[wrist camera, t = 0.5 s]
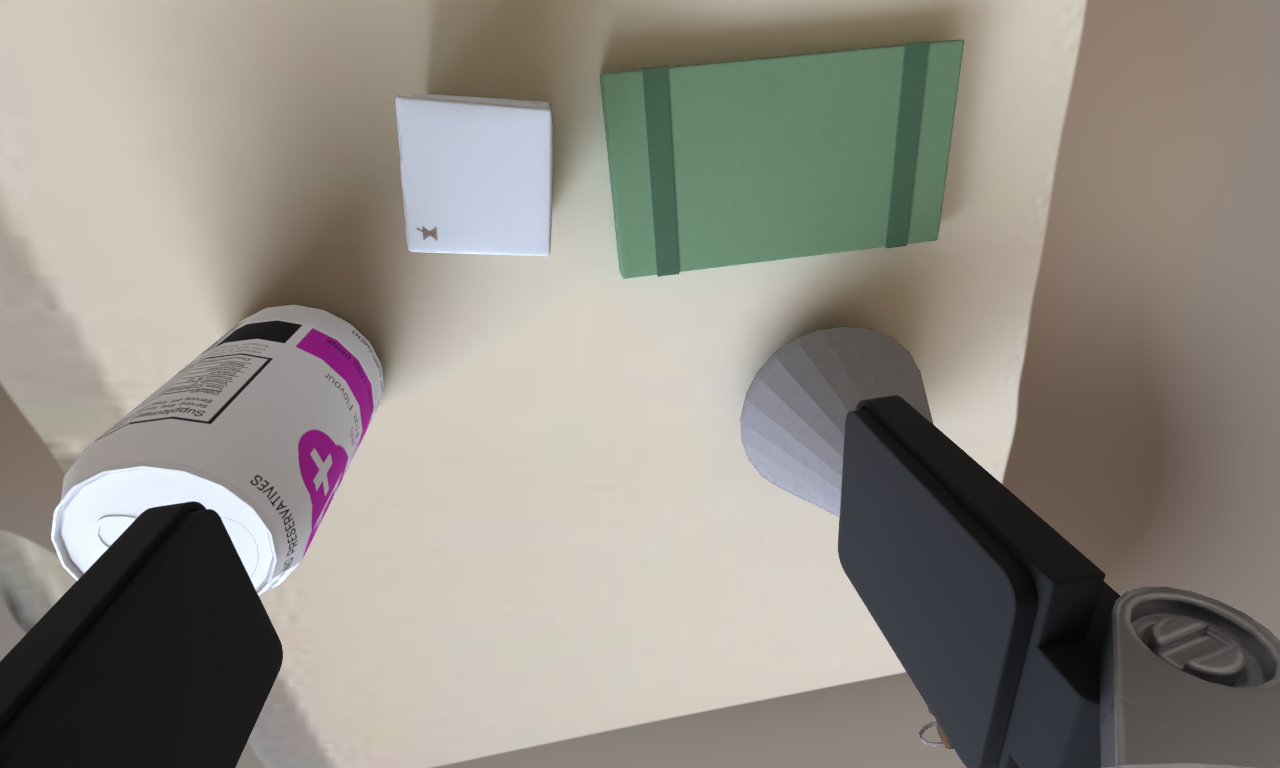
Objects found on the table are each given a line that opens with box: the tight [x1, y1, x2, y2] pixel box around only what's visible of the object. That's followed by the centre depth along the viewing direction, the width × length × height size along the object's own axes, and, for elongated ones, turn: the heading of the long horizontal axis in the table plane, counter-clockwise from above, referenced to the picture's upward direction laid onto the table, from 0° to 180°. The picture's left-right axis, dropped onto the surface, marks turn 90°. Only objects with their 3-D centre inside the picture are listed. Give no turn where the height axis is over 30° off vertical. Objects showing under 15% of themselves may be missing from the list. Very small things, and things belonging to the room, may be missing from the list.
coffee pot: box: [741, 326, 953, 749], centre depth 36 cm, size 21×12×15 cm, turn 14°
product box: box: [395, 94, 553, 256], centre depth 28 cm, size 6×6×7 cm
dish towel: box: [600, 40, 964, 279], centre depth 33 cm, size 10×18×2 cm, turn 95°
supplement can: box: [51, 305, 384, 596], centre depth 29 cm, size 8×8×15 cm
